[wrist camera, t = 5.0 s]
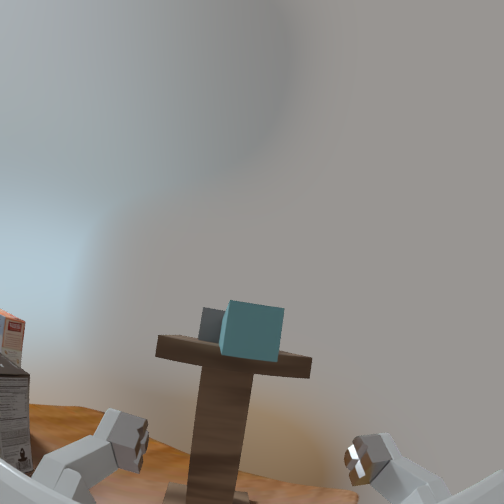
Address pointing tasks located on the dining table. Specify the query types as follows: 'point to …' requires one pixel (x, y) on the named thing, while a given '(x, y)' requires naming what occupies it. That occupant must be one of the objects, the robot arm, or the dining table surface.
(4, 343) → the cracker box
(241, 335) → the hammer
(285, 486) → the dining table surface
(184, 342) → the stand
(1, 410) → the coffee box
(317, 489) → the dining table surface
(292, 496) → the dining table surface
